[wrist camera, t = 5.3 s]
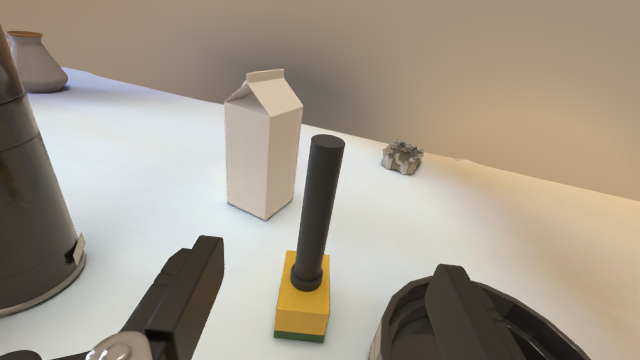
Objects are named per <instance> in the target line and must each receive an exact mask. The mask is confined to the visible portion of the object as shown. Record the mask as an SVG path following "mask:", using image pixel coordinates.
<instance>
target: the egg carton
mask: <svg viewBox="0 0 640 360" xmlns="http://www.w3.org/2000/svg"><path fill="white" fill-rule="evenodd" d="M423 152H424V151H423V150H418V149H417V147H416V146H412V145H410V144H407V143H406V142H405V143H404V142H402V141H400V140H399V139H396V140H395V141H394V142H393V143H391V144H390V145H389V146H388V147H387V148H385V149H383V156H384V157H383V161H382V165H384V166H385V167H386V168H387V169H396V170H399V171H400V172H401V174H404V175H406V174H413V172H414V170H415V169H416V167H417V165H418V164H419V162H420V159H421V158H422V157H423Z"/></svg>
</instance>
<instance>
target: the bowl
mask: <svg viewBox="0 0 640 360" xmlns="http://www.w3.org/2000/svg"><path fill="white" fill-rule="evenodd" d="M432 277H433V276H429V277H425V278H422V279H418V280H415V281H411V282H409V283H408V284H407V285H405V286H404V287H403V288H402V289H400V290H399V291H398V292H397V293H395V294H394V295H393V296H392V298H391V300H390V302H389V304H388V306H387V308H386V310H385V312H384V315H383V317H382V319H381V322H380V324H379V327H378V329H377V332H376V335H375V337H374V340H373V342H372V345H371V348H370V356H369V360H444V359H443V356H442V353H441V351H440V348H439V345H438V342H437V339H436V336H435V333H434V330H433V327H432V324H431V322H430V319H429V316H428V313H427V310H426V306H425V293H426V290H427V288H428V285H429V283H430V281H431V279H432ZM471 282H475V281H471ZM476 283H477V284H478V285H479V286H480V287H481V288H482V289H483V290H484V291H485V292H486V293H487V294H488V295H489V297H490V299H491V300H492V302H493V304H494V305H495V307H496V311H498V312H499V314H500V316H501V317H502V319H503V323H505V324H506V326H507V327H508V329H509V331H510V332H511V334H512V336H513V338H514V339H515V341H516V343H517V344H518V346H519V348H520V349H521V351H522V353H523V355H524V356H525V358H526V360H591V359H590V358H589V357H588V356H587V355H586V353H585V352H584V351H583V350H582V349H581V348H580V347H579V346H578V345H576V344H575V343H574V342H573V341H572V340H571V339H570V338H568V337H567V336H566V335H565V334H564V333H563V332H562V331H560V330H559V329H558V328H557V327H556V326H555V325H554V324H552V323H551V322H550V321H548V319H546V318H545V317H543V316H541V315H540V314H538V313H537V312H535V311H534V310H532V309H531V308H529V307H528V306H526V305H525V304H523V303H522V302H520V301H519V300H517V299H515V298H513V297H511V296H509V295H507V294H505V293H503V292H501V291H498V290H496V289H494V288H492V287H490V286H488V285H485V284H482V283H478V282H476Z"/></svg>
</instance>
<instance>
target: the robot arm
mask: <svg viewBox="0 0 640 360" xmlns="http://www.w3.org/2000/svg"><path fill="white" fill-rule="evenodd" d="M84 246H85V240H84V238H83V235H82V232H81V235H80V238H78V236H77V234H76V231H75V229H74V226H73V223H72V220H71V217H70V214H69V212H68V209H67V206H66V203H65V200H64V198H63V195H62V192H61V189H60V187H59V184H58V181H57V178H56V175H55V173H54V170H53V167H52V164H51V162H50V159H49V156H48V153H47V150H46V148H45V145H44V142H43V139H42V136H41V134H40V131H39V128H38V125H37V123H36V120H35V117H34V114H33V111H32V109H31V106H30V103H29V100H28V98H27V95H26V92H25V89H24V87H23V84H22V81H21V79H20V76H19V74H18V71H17V68H16V66H15V63H14V60H13V58H12V55H11V52H10V50H9V47H8V44H7V41H6V38H5V36H4V33H3V30H2V27H1V25H0V316H4V315H8V314H12V313H15V312H18V311H21V310H24V309H27V308H29V307H32V306H34V305H36V304H39V303H41V302H43V301H45V300H46V299H48V298H50V297H52V296H53V295H55V294H57V293H58V292H59V291H61V290H62V289H64V288H65V287H66V286H67V285H69V284H70V283H71V282H72V281H73V280H74V279H75V278H76V277H77V276H78V274H79V273H80V272H81V270H82V268H83V266H84V264H85V258H86V257H85V253H84V250H83V248H84ZM223 276H224V243H223V238H221V237H213V236H204V235H201V236H199V238H198V239H197V241H196V243H195V244H194V246H193V248H192V249H186V248H182V249H181V250H179V251H178V252H177V253H175V254H174V255H173V256H171V257H170V258H169V259H168V261H167V262H166V264H165V265H164V267H163V268H162V270H161V273H159V274H158V276H157V277H156V279H155V280H154V283H153V284H152V285H151V286H150V288H149V289H148V291H147V292H146V294H145V295H144V297H143V298H142V300H141V301H140V303H139V304H138V306H137V307H136V309H135V310H134V312H133V313H132V315H131V316H130V318H129V319H128V321H127V322H126V324H125V325H124V327H123V328H122V329H121V330H120V331H119V332H118V333H117V334H114V335H112V336H110V337H108V338H106V339H104V340H103V341H101V342H100V343H99V344H98V345H96V346H95V347H94V348H93V349H92V350H91V351H88V352H84V353H81V354H76V355H71V356H66V357H61V358H57V359H52V360H191V358H192V356H193V353H194V351H195V349H196V346H197V344H198V341H199V339H200V336H201V334H202V331H203V329H204V326H205V324H206V321H207V319H208V316H209V314H210V311H211V309H212V306H213V304H214V301H215V299H216V296H217V294H218V291H219V289H220V286H221V284H222V280H223ZM425 306H426V310H427V313H428V316H429V319H430V322H431V324H432V327H433V330H434V333H435V336H436V339H437V342H438V345H439V348H440V351H441V353H442V356H443V359H444V360H526V358H525V356H524V355H523V353H522V351H521V349H520V348H519V346H518V344H517V343H516V341H515V339H514V338H513V336H512V334H511V332H510V331H509V329H508V327H507V326H506V324H505V323H503V319H502V317H501V316H500V314H499V312H498V311H496V307H495V305H494V304H493V302H492V300H491V299H490V297H489V295H488V294H487V293H486V292H485V291H484V290H483V289H482V288H481V287H480V286H479V285H478V284H477V283H476V282H471V280H470V278H469V277H468V275H467V273H466V271H465V270H464V268H463V267H461V266H455V265H447V264H439V265H438V266H437V268H436V270H435V272H434V275H433V277H432V279H431V281H430V283H429V285H428V288H427V290H426V293H425ZM0 360H42V359H41V357H40V356H39V354H37V353H36V352H33V351H29V350H20V351H14V352H11V353H7V354H4V355H2V356H0Z"/></svg>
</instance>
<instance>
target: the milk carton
mask: <svg viewBox="0 0 640 360" xmlns="http://www.w3.org/2000/svg"><path fill="white" fill-rule="evenodd" d="M302 111H303V105H302V104H301V102H300V101H299V99H298V98H297V96H296V95H295V94H294V92H293V91H292V89H291V88H290V86H289V85H288V83H287V82H286V81H285V79H284V69H278V70H269V71H260V72H251V73H247V74H246V81H245V82H244V83H243V84H242V87H241V88H240V89H239V90H238V91H236V92H235V93H234V94H233V95H232V96H230V97H229V98H228V99H227V100H226V101H225V144H226V181H227V202H228V203H230V204H232V205H234V206H237V207H239V208H241V209H243V210H245V211H247V212H249V213H251V214H253V215H255V216H257V217H259V218H261V219H264V220H267V219H268V218H270V217H271V216H272V215H273V214H275V213H276V212H277V211H278V210H280V209H281V208H282V207H284V206H285V205H286V204H287V203H289V202H290V201H291V200H292V199H293V194H294V185H295V176H296V166H297V157H298V148H299V139H300V129H301V120H302V119H301V118H302Z"/></svg>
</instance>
